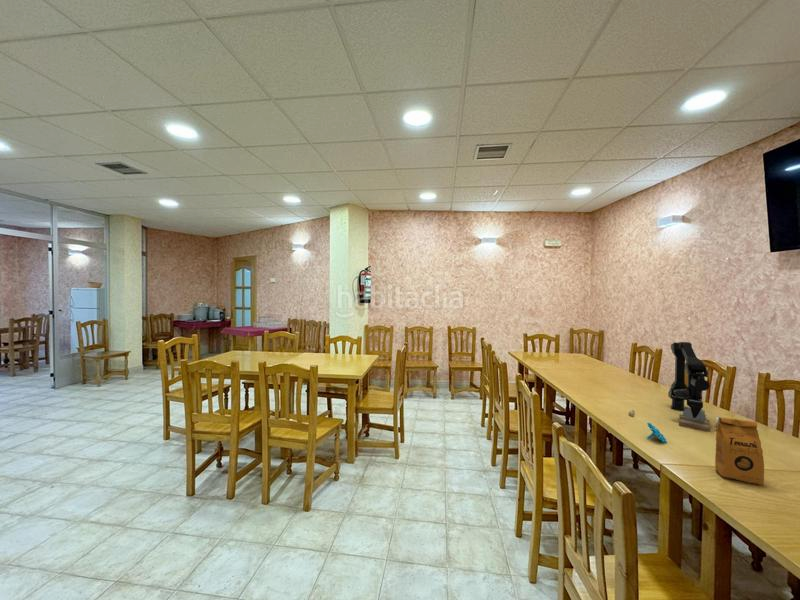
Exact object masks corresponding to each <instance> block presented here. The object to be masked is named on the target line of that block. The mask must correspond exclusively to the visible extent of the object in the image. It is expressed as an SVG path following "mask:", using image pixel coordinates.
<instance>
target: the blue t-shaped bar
mask: <svg viewBox="0 0 800 600" xmlns="http://www.w3.org/2000/svg"><path fill="white" fill-rule="evenodd" d="M646 425H647V427H649V429H650V431H651V432H652V433H650V434H649V435H648V436H646V439H648V440H650V439H652V438H653V437H658V439H659V440H660V441H662V443H664V444H666V443H668V441H667V438H665V436H664V435H663V433H661V432H660V429H658V428H656V426H655V425H653V424H652V423H651V422H647V423H646Z"/></svg>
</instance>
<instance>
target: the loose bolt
mask: <svg viewBox="0 0 800 600" xmlns="http://www.w3.org/2000/svg"><path fill="white" fill-rule="evenodd" d="M628 415H629V417H634V416H635V410H633V409H632V410H631V411H629V412H628Z"/></svg>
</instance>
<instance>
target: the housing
mask: <svg viewBox="0 0 800 600" xmlns="http://www.w3.org/2000/svg"><path fill="white" fill-rule="evenodd" d="M681 415H683V416H684V420H685V421H690V422H695V423H700V424H705V420H708V418H707V417H708V416H707V414H706V410H705V409H703V408H702V409H701V411H700V412H699V414H698V415H697V417H696V418H693V415H692V411H691V408H690V407H689V406H684V411H681Z"/></svg>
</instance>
